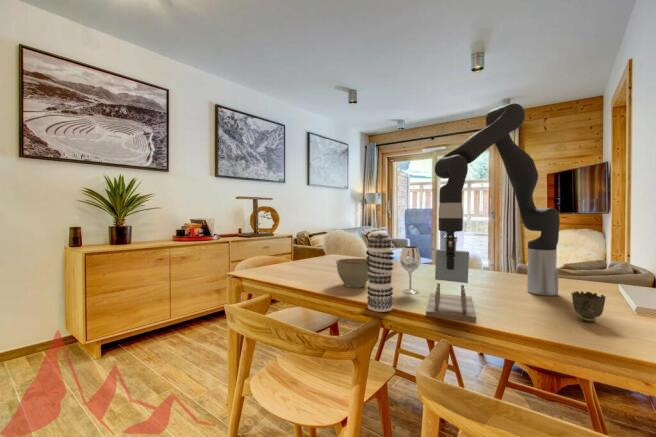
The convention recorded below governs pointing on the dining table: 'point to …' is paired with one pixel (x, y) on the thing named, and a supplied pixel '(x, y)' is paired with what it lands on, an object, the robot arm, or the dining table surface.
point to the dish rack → (451, 306)
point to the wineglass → (410, 264)
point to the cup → (588, 305)
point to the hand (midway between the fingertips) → (450, 268)
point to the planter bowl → (353, 272)
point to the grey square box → (459, 266)
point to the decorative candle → (379, 272)
